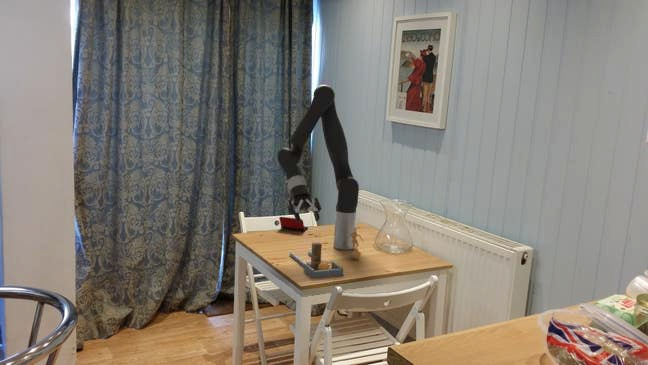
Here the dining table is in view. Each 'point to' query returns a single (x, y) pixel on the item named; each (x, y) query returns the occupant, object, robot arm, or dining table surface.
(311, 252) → the rails
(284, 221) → the red slanted panel
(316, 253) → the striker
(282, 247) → the dining table surface
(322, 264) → the ball
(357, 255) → the figurine
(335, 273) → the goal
